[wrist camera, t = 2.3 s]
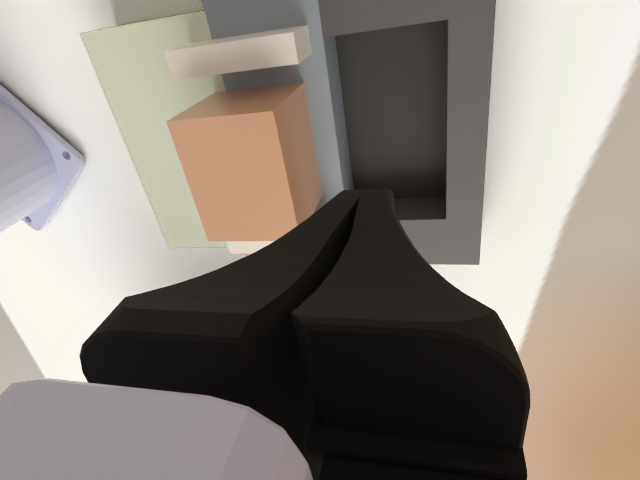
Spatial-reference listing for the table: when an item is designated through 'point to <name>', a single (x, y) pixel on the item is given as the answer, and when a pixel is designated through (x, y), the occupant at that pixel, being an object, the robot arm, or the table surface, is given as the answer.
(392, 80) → the gray recessed tray
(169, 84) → the pad
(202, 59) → the channel walls
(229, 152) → the terracotta block
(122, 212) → the table surface
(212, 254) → the table surface
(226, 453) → the robot arm
